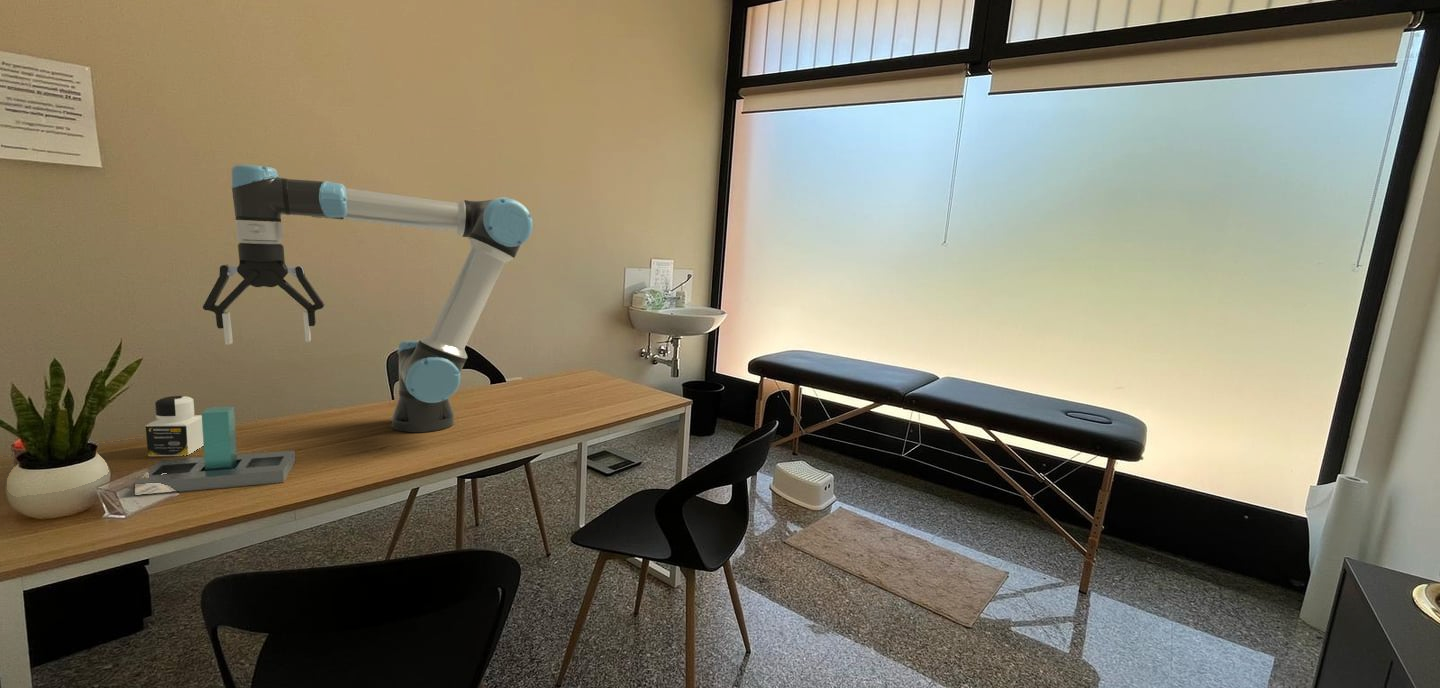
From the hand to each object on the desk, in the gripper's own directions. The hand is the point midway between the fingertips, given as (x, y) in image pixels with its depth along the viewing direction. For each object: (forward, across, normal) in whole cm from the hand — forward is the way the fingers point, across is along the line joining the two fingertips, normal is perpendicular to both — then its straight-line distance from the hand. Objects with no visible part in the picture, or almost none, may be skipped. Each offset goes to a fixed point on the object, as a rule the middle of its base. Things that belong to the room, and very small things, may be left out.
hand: (269, 342), depth 124 cm
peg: (+25, -8, -11) cm, 29 cm away
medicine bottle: (+25, -19, +9) cm, 33 cm away
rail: (+25, -8, -11) cm, 29 cm away
